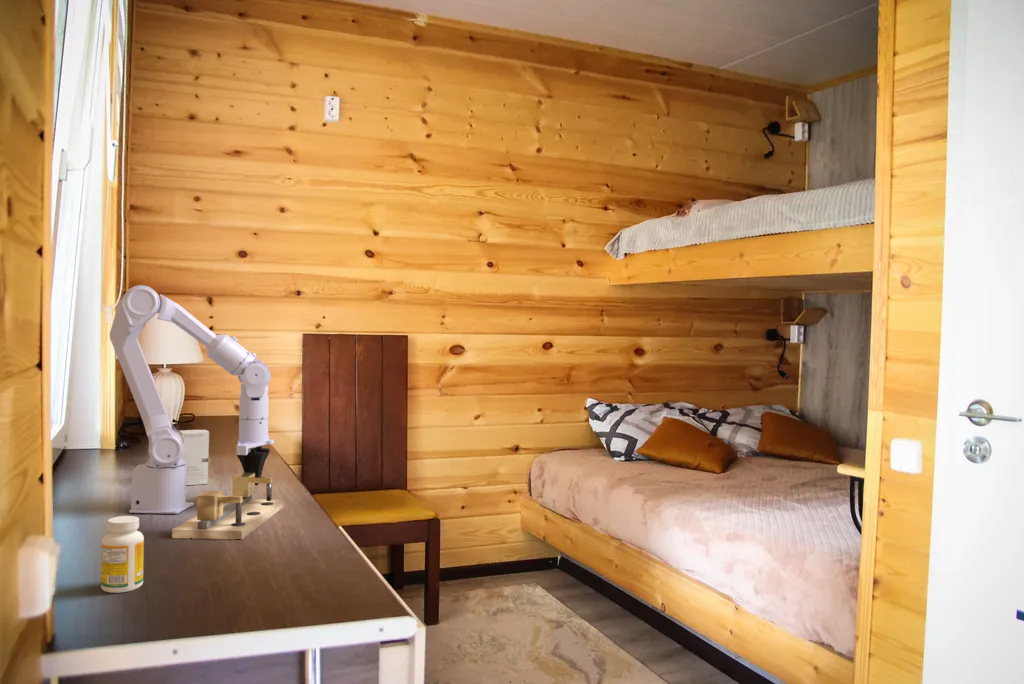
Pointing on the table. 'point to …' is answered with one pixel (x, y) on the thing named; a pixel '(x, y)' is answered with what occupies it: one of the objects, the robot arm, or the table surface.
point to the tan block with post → (250, 485)
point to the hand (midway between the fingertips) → (253, 484)
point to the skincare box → (196, 455)
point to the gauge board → (226, 516)
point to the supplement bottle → (122, 555)
